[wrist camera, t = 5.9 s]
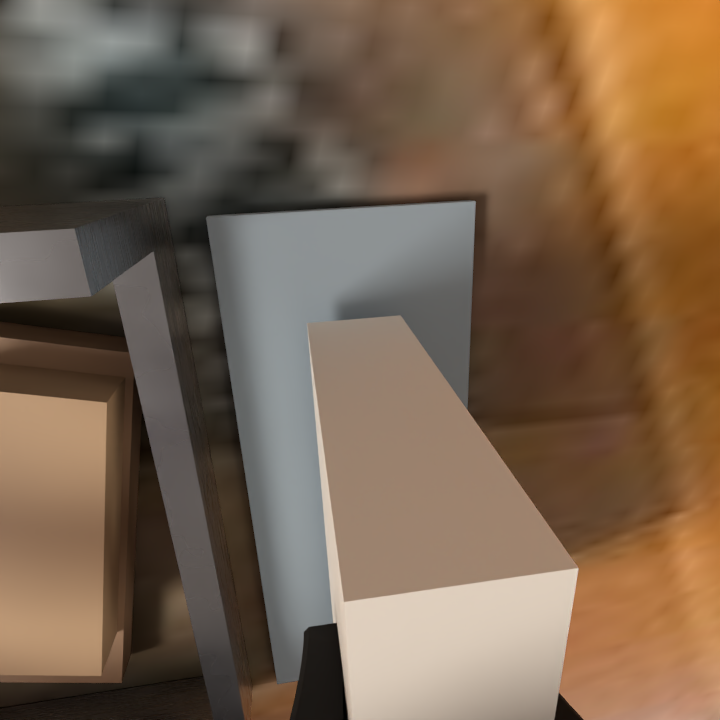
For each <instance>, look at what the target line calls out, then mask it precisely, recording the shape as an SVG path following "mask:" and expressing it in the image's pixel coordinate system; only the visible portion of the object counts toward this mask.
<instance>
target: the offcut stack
mask: <svg viewBox="0 0 720 720" xmlns="http://www.w3.org/2000/svg"><path fill="white" fill-rule="evenodd" d="M141 418H142V406H141V402H140V397H139V393H138V388H137V384H136V380H135V375H134V371H133V367H132V362H131V358H130V354H129V349H128V345H127V341H126V337H119V336H111V335H103V334H95V333H87V332H79V331H71V330H63V329H55V328H47V327H39V326H31V325H23V324H15V323H7V322H0V682H33V683H122V680H123V677H124V674H125V671H126V668H127V664H128V661H129V658H130V655H131V637H132V615H133V593H134V571H135V549H136V527H137V505H138V483H139V461H140V439H141Z"/></svg>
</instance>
